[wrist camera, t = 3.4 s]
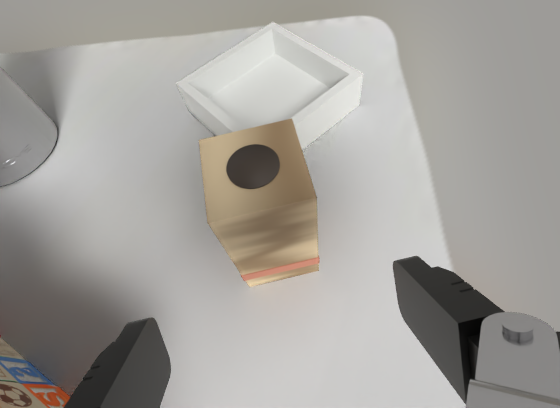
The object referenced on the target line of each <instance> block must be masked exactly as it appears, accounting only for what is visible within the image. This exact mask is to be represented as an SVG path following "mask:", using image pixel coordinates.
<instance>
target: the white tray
mask: <svg viewBox="0 0 560 408" xmlns="http://www.w3.org/2000/svg"><path fill="white" fill-rule="evenodd" d="M362 81H363V73H362V72H360V71H358V70H356V69H355V68H353V67H351V66H349V65H348V64H346V63H344V62H342V61H341V60H339V59H337V58H335V57H334V56H332V55H330V54H328V53H327V52H325V51H323V50H321V49H320V48H318V47H316V46H314V45H313V44H311V43H309V42H307V41H306V40H304V39H302V38H300V37H299V36H297V35H295V34H293V33H292V32H290V31H288V30H286V29H285V28H283V27H281V26H279V25H278V24H276V23H274V22H272V23H270V24H268V25H267V26H265V27H264V28H262V29H260V30H259V31H257V32H256V33H254V34H253V35H251V36H249V37H248V38H246V39H245V40H243V41H241V42H240V43H238V44H237V45H235V46H234V47H232V48H230V49H229V50H227V51H226V52H224V53H222V54H221V55H219V56H218V57H216V58H214V59H213V60H211V61H210V62H208V63H207V64H205V65H203V66H202V67H200V68H199V69H197V70H195V71H194V72H192V73H191V74H189V75H188V76H186V77H184V78H183V79H181V80H180V81H178V82H176V85H177V87H178V89H179V91H180V93H181V95H182V98H183V100H184V102H185V104H186V106H187V108H188V111H189V112H190V113H191V114H192V115H193V116H194V117H195V118H197V119H198V120H199V121H200V122H201V123H202V124H203V125H204V126H205V127H207V128H208V129H209V130H210V131H211V132H212V133H213V134H214V135H215V136H218V135H223V134H227V133H231V132H235V131H240V130H244V129H248V128H253V127H257V126H261V125H266V124H270V123H274V122H278V121H283V120H287V119H291V118H292V120H293V123H294V126H295V129H296V133H297V136H298V139H299V142H300V146H301V149H302V150H303V149H304V148H306V147H307V146H308V145H310V144H311V143H312V142H313V141H315V140H316V139H317V138H318V137H320V136H321V135H322V134H323V133H325V132H326V131H327V130H329V129H330V128H331V127H332V126H334V125H335V124H336V123H337V122H339V121H340V120H341V119H342V118H344V117H345V116H346V115H347V114H349V113H350V112H351V111H353V110H354V109H355V108H356V107H358V106H359V104H360V96H361V89H362Z"/></svg>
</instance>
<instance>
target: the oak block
mask: <svg viewBox="0 0 560 408" xmlns="http://www.w3.org/2000/svg"><path fill="white" fill-rule="evenodd" d="M199 147H200V156H201V166H202V175H203V185H204V194H205V204H206V213H207V223H208V224H209V226H210V227H211V229H212V231H213V232H214V234H215V235H216V237H217V238H218V240H219V241H220V243H221V244H222V246H223V247H224V249H225V250H226V252H227V253H228V255H229V257H230V258H231V260H232V261H233V263H234V264H235V266H236V267H237V269H238V270H239V272H240V273H241V277H242V278H243V280H244V281H246V283H247V284H248V286H249V287H252V286H256V285H260V284H264V283H268V282H273V281H277V280H281V279H285V278H290V277H294V276H298V275H302V274H306V273H311V272H315V271H319V264H318V263H319V255H318V228H317V197H316V194H315V190H314V187H313V184H312V181H311V178H310V174H309V171H308V168H307V165H306V162H305V158H304V155H303V152H302V149H301V146H300V142H299V139H298V136H297V133H296V129H295V126H294V123H293V120H292V118H291V119H287V120H283V121H278V122H274V123H270V124H266V125H261V126H257V127H253V128H248V129H244V130H240V131H235V132H231V133H227V134H223V135H218V136H214V137H210V138H205V139H201V140H199Z"/></svg>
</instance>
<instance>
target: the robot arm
mask: <svg viewBox="0 0 560 408" xmlns="http://www.w3.org/2000/svg"><path fill="white" fill-rule="evenodd" d="M56 139H57V128H56V125H55V123H54V122H53V121H52V120H51V119H50V118H49V117H48V115H47V114H46V113H45V112H44V111H43V110H42V109H41V108H40V107H39V106H38V105H37V104H36V103H35V102H34V101H33V100H32V99H31V98H30V97H29V96H28V95H27V94H26V93H25V92H24V90H23V89H22V88H21V87H20V86H19V85H18V84H17V83H16V82H15V81H14V80H13V79H12V78H11V77H10V76H9V75H8V74H7V73H6V72H5V71H4V70H3V69H2V68H1V67H0V186H4V185H7V184H10V183H12V182H15V181H17V180H19V179H21V178H23V177H25V176H26V175H28V174H29V173H31V172H32V171H33V170H35V169H36V168H37V167H38V166H39V165H40V164H41V163H42V162H44V160H45V159H46V158H47V157H48V155H49V154H50V153H51V151H52V149H53V147H54V146H55V143H56ZM393 271H394V278H395V285H396V292H397V298H398V305H399V308H400V312H401V314H402V317H403V319H404V321H405V322H406V324H407V325H408V327H409V328H410V329H411V331H412V332H413V333H414V335H415V336H416V337H417V339H418V340H419V341H420V343H421V344H422V346H423V347H424V348H425V350H426V351H427V352H428V354H429V355H430V356H431V358H432V359H433V361H434V362H435V363H436V365H437V366H438V367H439V369H440V370H441V371H442V373H443V374H444V375H445V377H446V378H447V380H448V381H449V382H450V384H451V385H452V386H453V388H454V389H455V390H456V392H457V393H458V395H459V396H460V397H461V399H462V400H463V401H464V403H465V404H466V408H560V332H555V330H554V329H553V328H552V327H551V326H550V325H548V324H547V323H546V322H544V321H542V320H540V319H538V318H536V317H533V316H530V315H527V314H522V313H515V312H504V311H503V310H502V309H500V308H499V307H498V306H496V305H495V304H494V303H493V302H491V301H490V300H489V299H487V298H486V297H485V296H484V295H482V294H481V293H479V292H478V291H477V290H474V289H473V287H472V286H471V285H469V284H468V283H467V282H464V280H463V279H461V278H460V277H459V276H458V275H456V274H455V273H454V272H451V271H449V270H446V269H443V268H440V267H434V268H431V267H430V266H429V265H428V264H426V263H425V262H424V261H423V260H422V259H421V258H419V257H418V256H413V257H409V258H405V259H400V260H396V261H394V262H393ZM170 373H171V365H170V358H169V355H168V352H167V350H166V347H165V344H164V341H163V338H162V336H161V333H160V330H159V327H158V325H157V322H156V320H155V319H154V318H147V319H142V320H138V321H134V322H130V323H128V324H127V325H126V326H125V328H124V329H123V331H122V332H121V334H120V336H119V337H118V339H117V340H116V342H113V343H112V344H111V345H109V346H108V347H107V348H106V349H105V350H104V351H103V352H102V353H101V354H100V355H99V356H98V357H97V359H96V360H95V362H94V363H93V365H92V366H91V370H89V371H88V372H87V374H86V375H85V377H84V378H83V381H82V382H80V384H79V385H78V387H77V388H76V390H75V391H74V393H73V394H72V396H71V397H70V399H69V400H68V402H67V403H66V405H65V406H64V408H160V405H161V402H162V399H163V396H164V393H165V390H166V387H167V384H168V381H169V378H170Z"/></svg>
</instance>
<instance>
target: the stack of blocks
mask: <svg viewBox="0 0 560 408" xmlns="http://www.w3.org/2000/svg"><path fill="white" fill-rule="evenodd" d="M69 399H70V396H68V395H67V394H66V393H65V392H64V391H63V390H62V389H61V388H60V387H58V386H56V385H54V384H53V383H52V382H51V381H50V380H48V379H47V378H46V377H45V376H44V375H43V374H42V373H41V372H39V371H38V370H37V369H36V368H35V367H34V366H33V365H32V364H31V363H30V362H28V361H26V360H25V359H24V358H23V357H22V356H21V355H20V354H19V353H18V352H17V351H15V350H14V349H13V348H12V347H11V346H10V345H9V344H8V343H7V342H5V341H4V340H3V339H2V338H1V335H0V408H64V406H65V405H66V403H67V402H68V400H69Z"/></svg>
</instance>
